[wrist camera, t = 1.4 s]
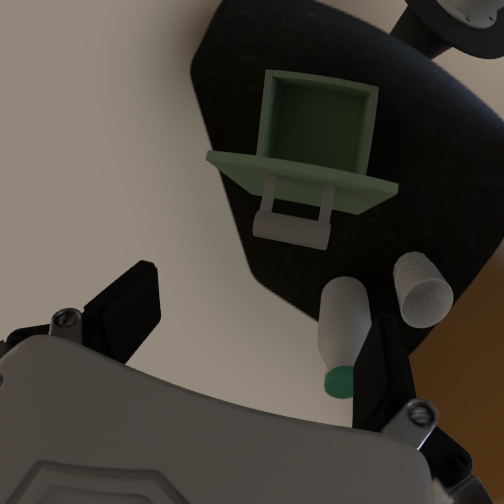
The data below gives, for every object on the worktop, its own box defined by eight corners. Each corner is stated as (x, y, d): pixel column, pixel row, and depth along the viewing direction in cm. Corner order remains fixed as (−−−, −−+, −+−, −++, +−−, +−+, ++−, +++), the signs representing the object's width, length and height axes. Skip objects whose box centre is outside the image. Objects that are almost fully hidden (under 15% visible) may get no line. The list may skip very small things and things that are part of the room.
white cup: (390, 294, 44) (400, 332, 35) (387, 251, 41) (400, 284, 32) (433, 286, 41) (450, 322, 32) (433, 243, 38) (454, 273, 30)
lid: (207, 149, 18) (191, 224, 19) (398, 183, 16) (385, 264, 16) (252, 188, 33) (244, 231, 34) (359, 208, 31) (351, 252, 31)
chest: (278, 81, 35) (265, 69, 27) (368, 95, 33) (379, 87, 25) (267, 178, 41) (252, 190, 34) (352, 194, 39) (358, 210, 31)
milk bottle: (320, 275, 46) (309, 365, 28) (367, 273, 43) (382, 364, 26) (322, 314, 49) (310, 406, 31) (365, 313, 46) (372, 406, 29)
